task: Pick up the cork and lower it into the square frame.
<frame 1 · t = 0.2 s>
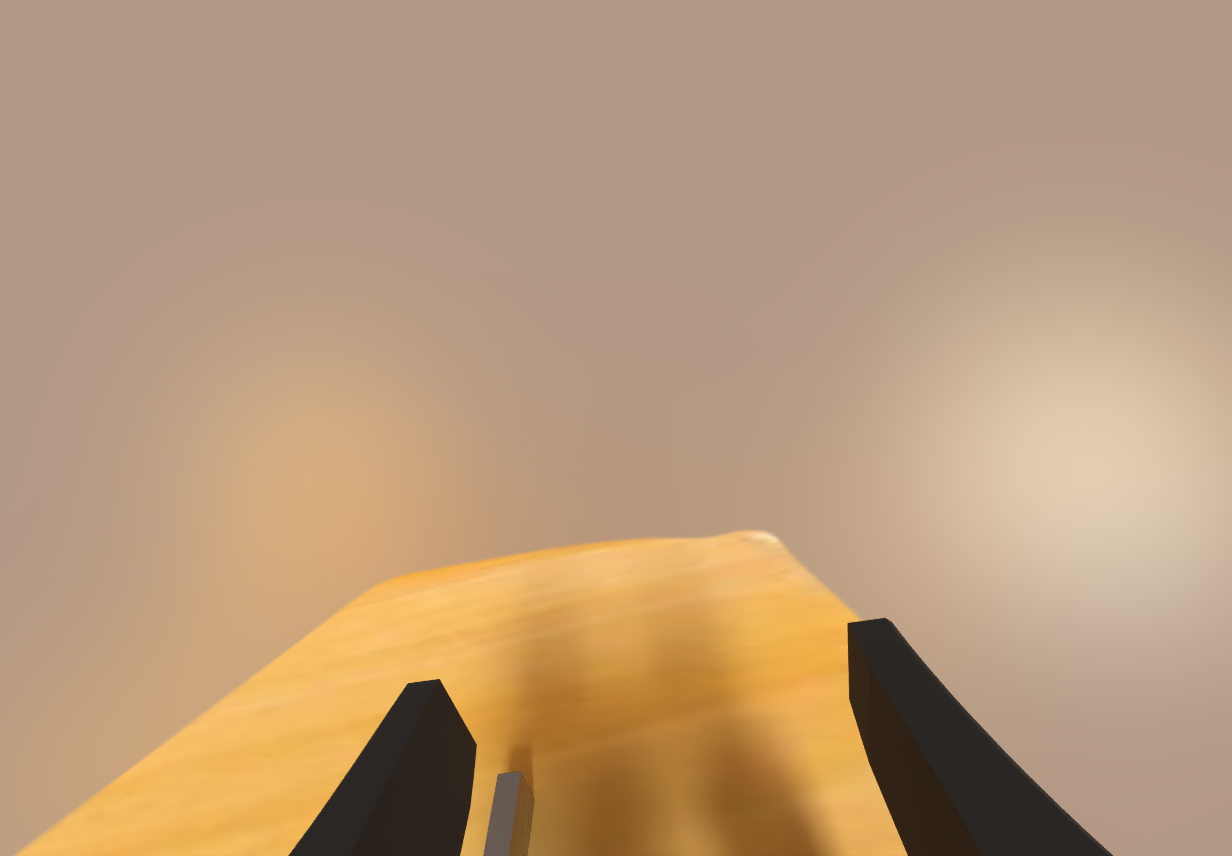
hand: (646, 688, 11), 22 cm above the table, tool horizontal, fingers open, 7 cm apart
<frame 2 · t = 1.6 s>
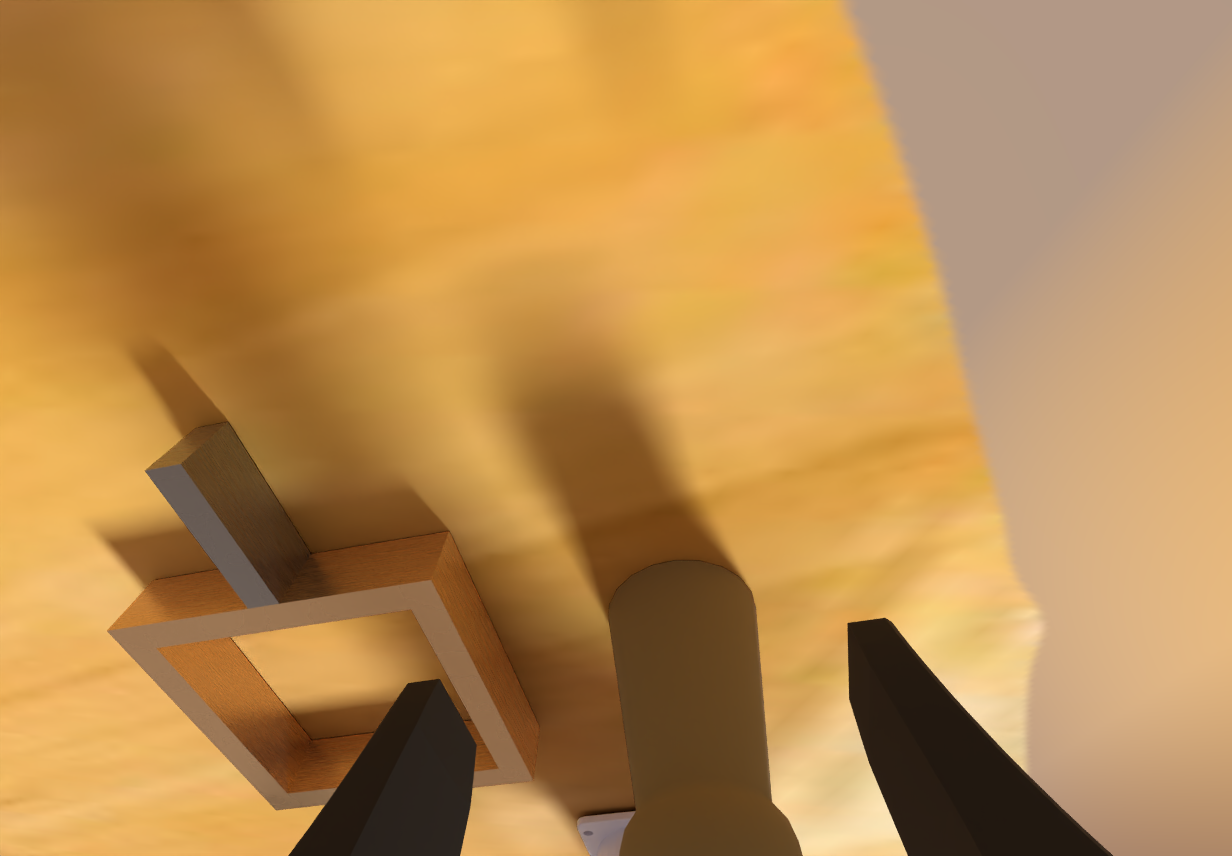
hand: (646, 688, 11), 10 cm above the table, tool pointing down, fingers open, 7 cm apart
cork: (681, 610, 25), on the table
square frame: (364, 660, 26), on the table
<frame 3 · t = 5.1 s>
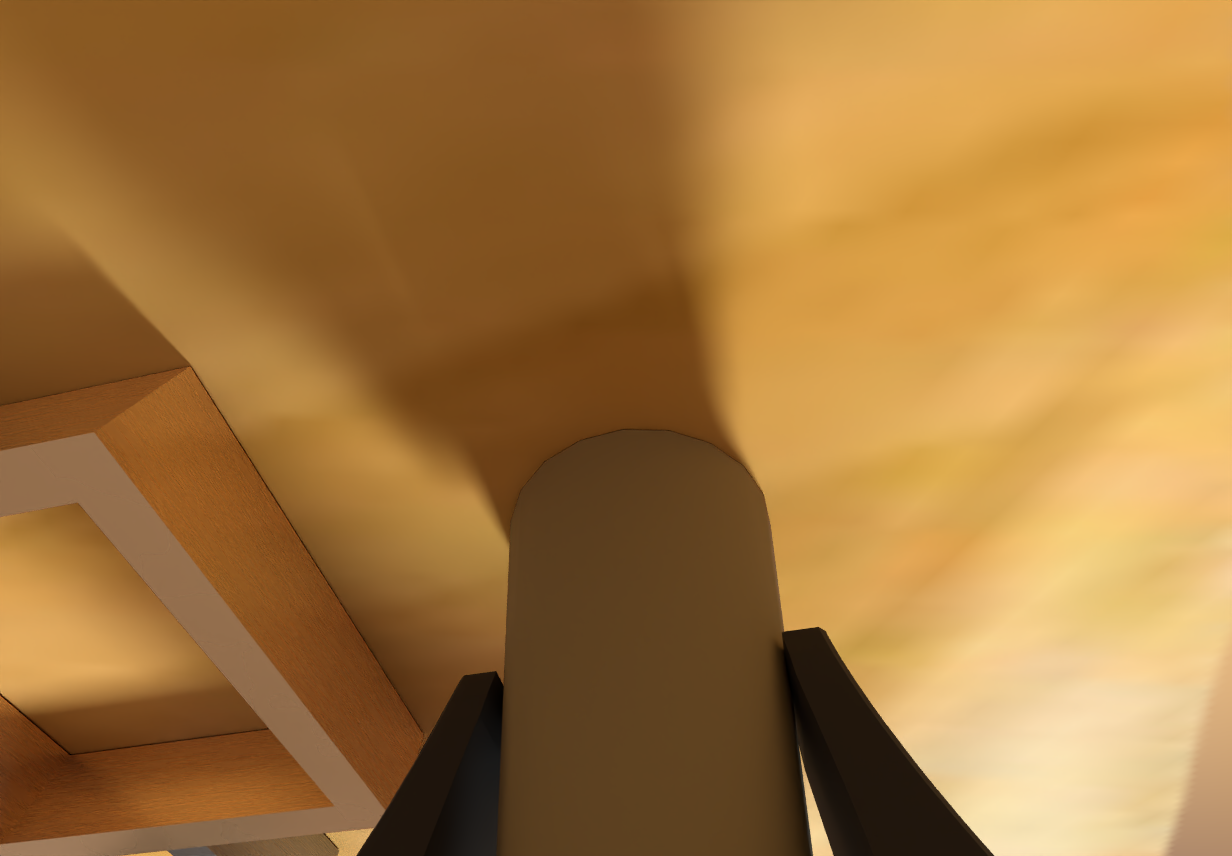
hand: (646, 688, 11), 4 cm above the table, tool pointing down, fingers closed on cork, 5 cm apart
cork: (639, 533, 14), on the table, touching gripper
square frame: (110, 624, 16), on the table
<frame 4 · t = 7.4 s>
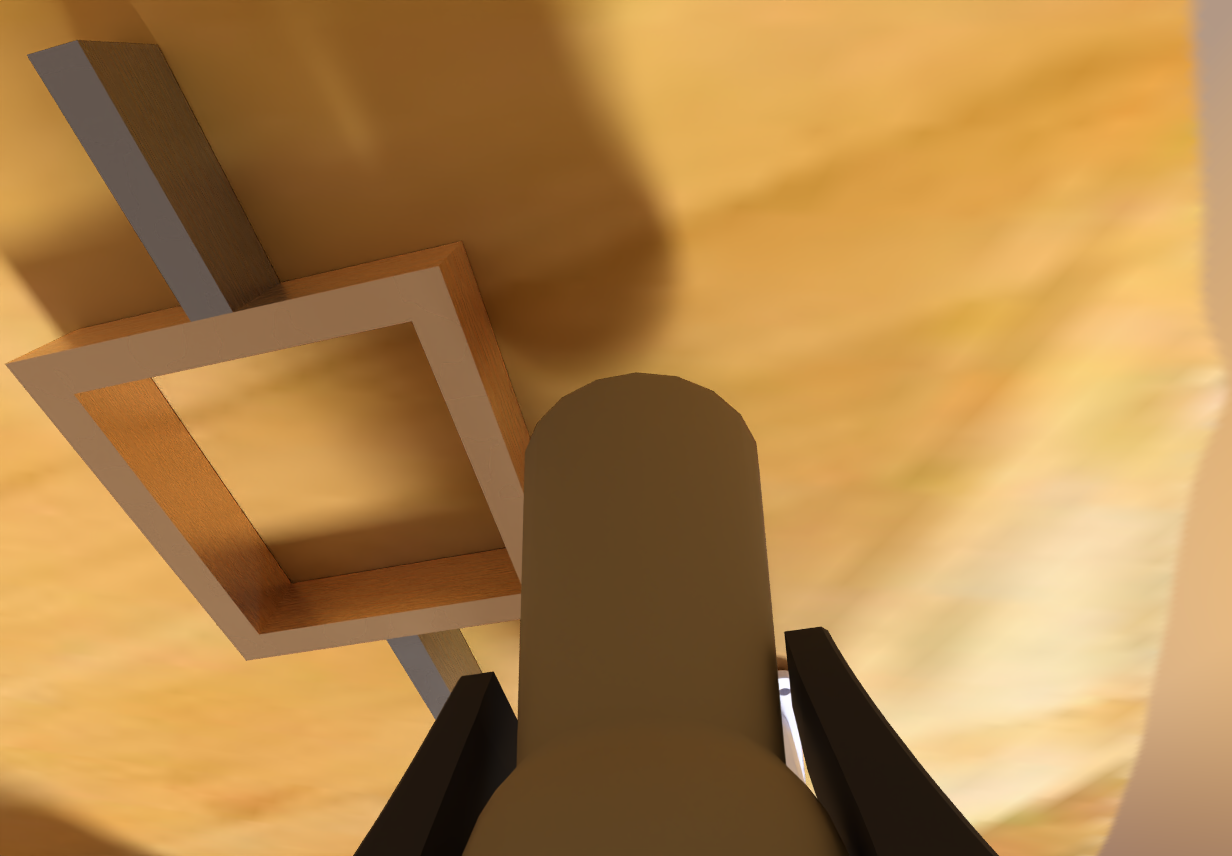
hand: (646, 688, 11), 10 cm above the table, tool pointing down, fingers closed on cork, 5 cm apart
cork: (640, 472, 16), point 4 cm above the table, touching gripper
square frame: (353, 458, 21), on the table
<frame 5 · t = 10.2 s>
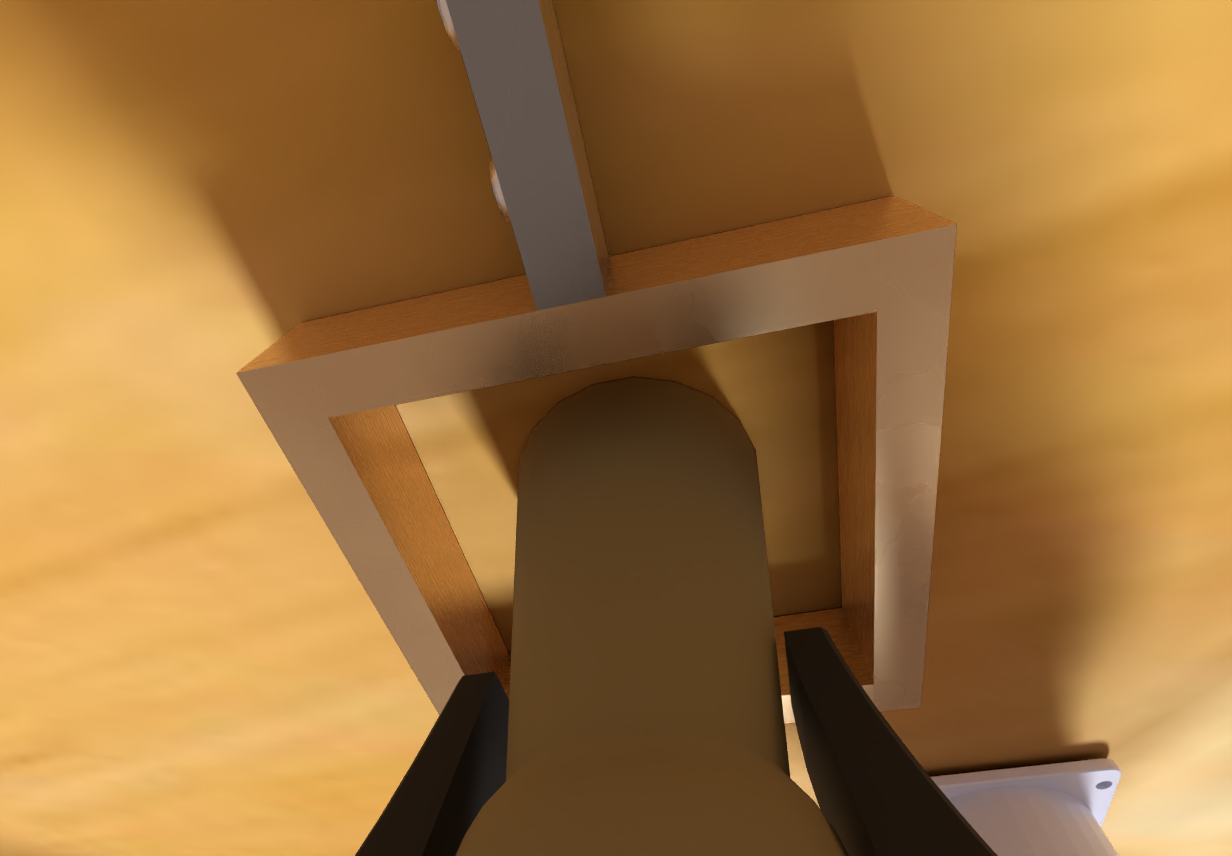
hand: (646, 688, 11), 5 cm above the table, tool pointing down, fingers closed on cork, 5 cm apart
cork: (637, 481, 15), resting in square frame, touching gripper
square frame: (638, 500, 15), on the table
when the fingers open (5 cm above the table, at t = 11.0 s): cork stays where it is, resting in square frame.
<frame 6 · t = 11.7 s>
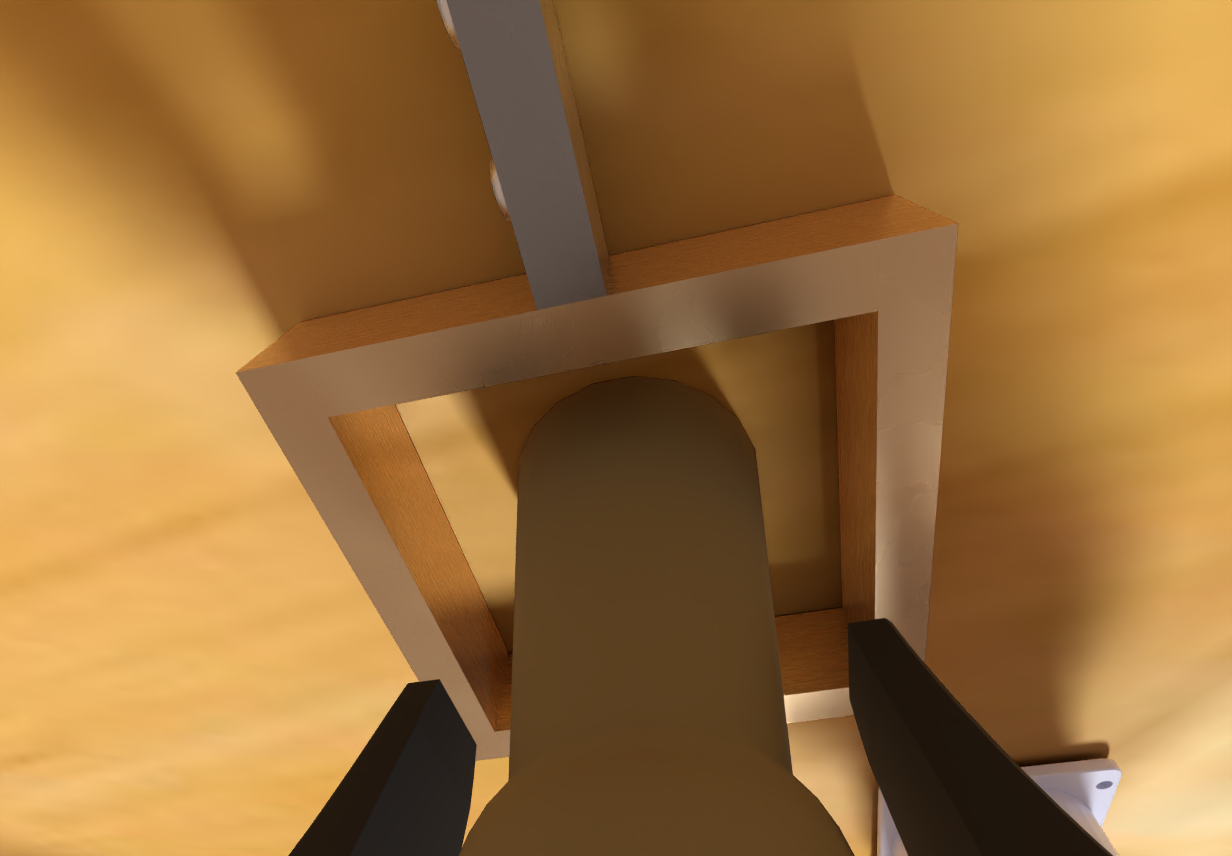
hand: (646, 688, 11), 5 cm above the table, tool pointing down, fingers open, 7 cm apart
cork: (637, 480, 15), resting in square frame
square frame: (638, 500, 15), on the table
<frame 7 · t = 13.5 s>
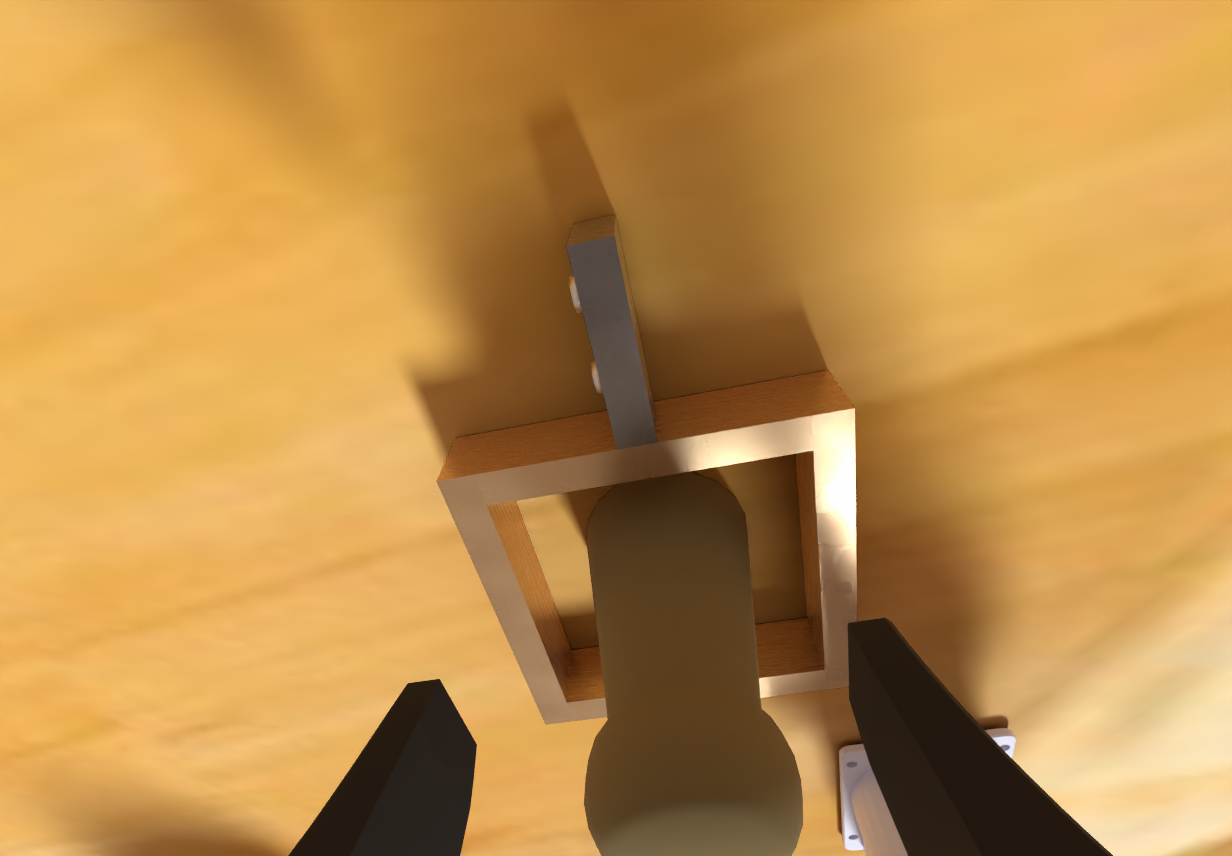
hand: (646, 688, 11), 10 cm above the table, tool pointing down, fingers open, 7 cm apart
cork: (666, 532, 23), resting in square frame
square frame: (666, 545, 23), on the table
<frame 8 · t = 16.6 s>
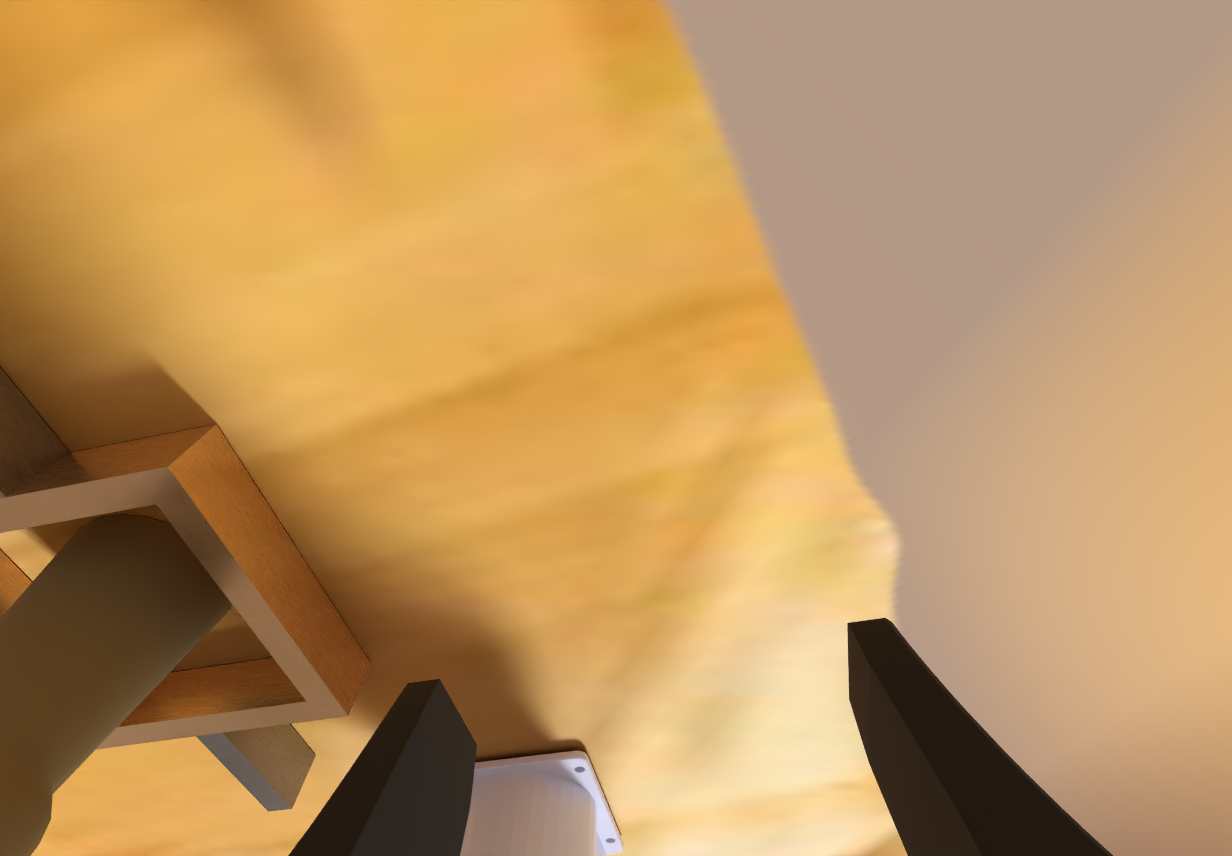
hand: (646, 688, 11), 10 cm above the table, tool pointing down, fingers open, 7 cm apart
cork: (158, 570, 24), resting in square frame
square frame: (160, 583, 24), on the table
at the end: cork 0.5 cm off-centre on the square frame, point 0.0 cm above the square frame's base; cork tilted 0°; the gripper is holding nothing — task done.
